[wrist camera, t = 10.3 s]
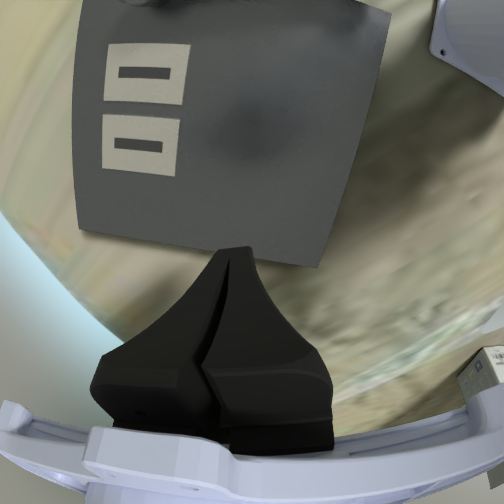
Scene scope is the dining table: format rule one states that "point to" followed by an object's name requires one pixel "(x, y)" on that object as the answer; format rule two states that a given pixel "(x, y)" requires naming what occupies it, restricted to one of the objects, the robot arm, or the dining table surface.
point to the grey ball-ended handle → (139, 2)
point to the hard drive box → (480, 378)
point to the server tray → (221, 120)
